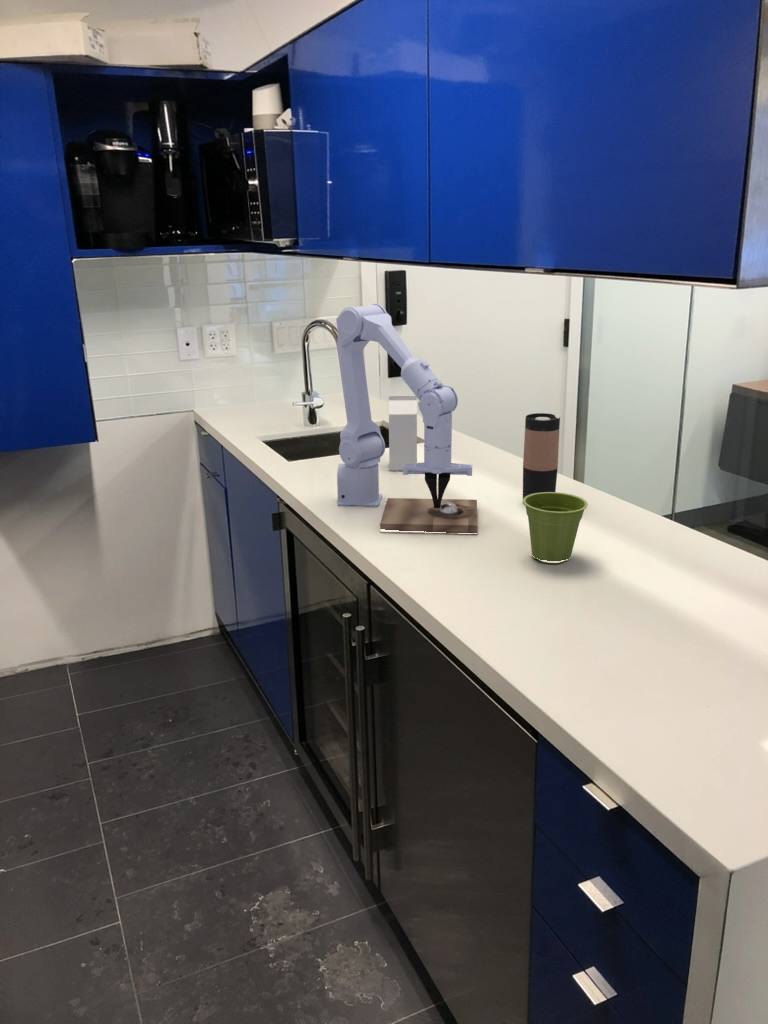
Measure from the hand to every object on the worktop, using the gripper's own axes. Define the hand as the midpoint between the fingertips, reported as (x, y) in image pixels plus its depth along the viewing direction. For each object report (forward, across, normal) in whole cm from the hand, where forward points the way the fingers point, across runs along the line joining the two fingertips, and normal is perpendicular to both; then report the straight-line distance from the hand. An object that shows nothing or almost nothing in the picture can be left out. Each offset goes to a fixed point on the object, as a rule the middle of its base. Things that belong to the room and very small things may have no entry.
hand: (437, 506), depth 178 cm
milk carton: (+3, -10, +41) cm, 42 cm away
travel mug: (+3, +22, +13) cm, 26 cm away
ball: (+1, +2, 0) cm, 3 cm away
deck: (+3, -2, 0) cm, 3 cm away
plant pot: (+3, +22, -20) cm, 30 cm away
